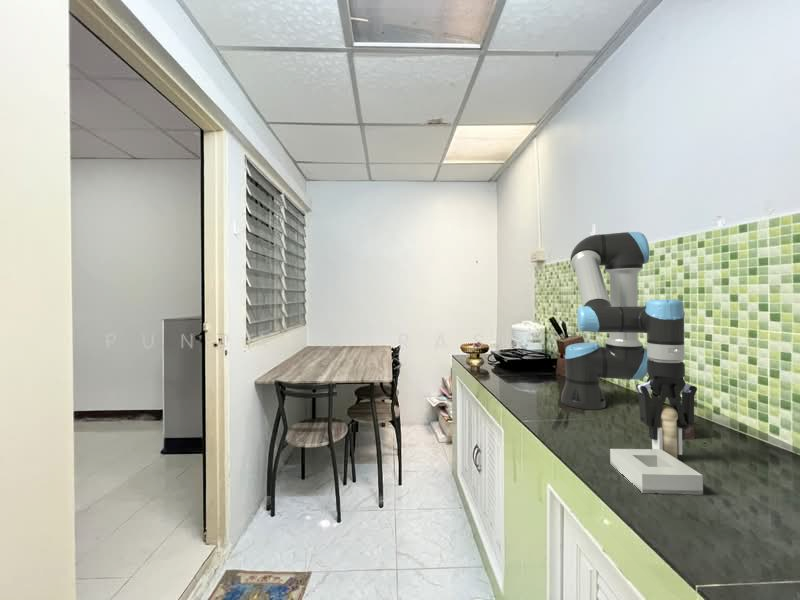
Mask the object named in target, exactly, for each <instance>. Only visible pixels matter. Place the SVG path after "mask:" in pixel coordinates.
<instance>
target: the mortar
mask: <svg viewBox="0 0 800 600" xmlns="http://www.w3.org/2000/svg"><path fill="white" fill-rule="evenodd" d="M609 452H610V453H609V458H610V459H609V460H610V463H609V465H610V464H611V465H612V466H613V467H614V468H615V469H617V470H618V471H619V472H620V473H621V474H623V475H624V476H625V477H626V478H627V479H628V480H629V481H630V482H631V483H633V485H632V486H634V485H635V486H636V487H637V488H638V489H639V490H640V491H641V494H654V493H658V495H661V494H663V495H666V494H667V495H668V494H669V495H704V484H703V483H704V477H703V476H704V475H703V474H701V473H700V472H699V471H697V470H695V469H694V468H692V467H690V466H689V465H687V464H686V463H684V462H683V461H681V460H679V459H678V458H677V459H676V458H674V457H673V456H671V455H670V454H668V453H666V452H665V451H663V450H662V449H652V448H651V449H649V448H647V449H645V448H610V449H609ZM611 465H610V466H611ZM612 466H611V467H612ZM613 467H612V468H613ZM614 468H613V469H614ZM615 469H614V470H615ZM617 470H616V471H617ZM618 471H617V472H618ZM619 472H618V473H619ZM620 473H619V474H620ZM621 474H620V475H621ZM625 477H624V478H625ZM626 478H625V479H626ZM627 479H626V480H627ZM628 480H627V481H628ZM629 481H628V482H629ZM630 482H629V483H630ZM631 483H630V484H631ZM635 486H634V487H635ZM636 487H635V488H636ZM637 488H636V489H637ZM638 489H637V490H638ZM639 490H638V491H639ZM640 491H639V492H640Z"/></svg>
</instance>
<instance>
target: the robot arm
mask: <svg viewBox="0 0 800 600" xmlns="http://www.w3.org/2000/svg"><path fill="white" fill-rule="evenodd" d="M650 253H651V252H650V246H649V241H648V239H647V237H646V235H644V234H643V233H642V232H640V231H626V232H616V233H615V232H613V233H605V234H604V233H602V234H600V233H599V234H591V235H589V236H587V237H585V238H583V239H582V240H581V241H579V242H578V243H577V244H576V246H574V248H573V249H572V252H571V255H570V258H569V259H570V266H571V268H572V270H573V271H575V274H576V281H577V284H578V285H577V286H578V290H579V296H580V300H581V304H582V306H580V307H578V309H577V315H576V318H577V327H578V330H579V331H581V332H586V333H609V338H608V339H607V340H606V341H605V342H604V343H605V346H600V343H598V342H579V343H572V344H569V345H567V346H566V347H565V353H564V354H565V355H564V359H565V384H564V386H563V389H562V391H561V395H560V402H561V403H562V404H563V405H566V406H568V407H571V408H575V409H576V408H577V409H581V410H582V409H583V410H603V409H605V408H606V403H607V402H606V399H605V396H604V393H603V390H602V387H601V381H600V379H617V380H627V381H632V380H634V381H635V380H637V381H638V380H639V381H640V380H642V379H644V378H645V377H646V376H647V375H648V377H647V379H646V382H645V383H641V384H638V383H637V384H635V387H636V390H637V392H638V405H639V421H640V422H641V423H643V424H645V425H647V426H648V437H649V438H650V439H651V446H652V448H651V449H662V450H663V440H662V428H660V427H659V423H660V418H661V413H662V407H663V405H664V404H665V402H666V399H668V403H669V406H671V407H673V408H674V409H675V410H676V411H677V413H678V419H677V455H678V456H680V455H682V456H683V441H685V439H686V438H685V429H688V428H689V426H688V425H690V426H692V425H693V424H694V425H695V397H696V396H695V395H696V393H697V390H698V387H697V386H695V385H693V384H692V385H691V384H689V383H686V381H685V379H684V377H686V364H685V363H684V362H683V361H684V360H686V359H685V358H686V357H685V354H686V353H685V316H686V315H685V314H686V313H685V309H684V302H683V301H682V300H680V299H649V300H647V301H646V305H643V306H642V305H641V306H638V303H639V300H638V297H639V295H638V293H639V291H638V287H639V286H638V285H639V284H638V283H639V281H638V280H639V279H638V274H639V273H640V272H641V271H642V270H643V268H644V265H645V264H647V263H649V260H650ZM601 266H604V271H605V273H607V274H608V275H609V293H608V290H607V287H606V283H605V281H604V277H603V274H602V273H603V272H602V270H601ZM639 334H646V348H645V347H644V344H643V342H641V341H640V340H639V337H638V336H639ZM650 392H651V395H650Z"/></svg>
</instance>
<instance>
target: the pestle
mask: <svg viewBox="0 0 800 600" xmlns="http://www.w3.org/2000/svg"><path fill="white" fill-rule="evenodd" d="M677 419H678V413H677V411H676V410H675V409H674V408H673V407H671V406H670V404H669V405H668V404H663V407H662V413H661V418H660V423H659V427H660V428H662V440H663V451H665V452H666V453H668V454H670V455H671V456H673V457H674V458H676V459H678V454H677Z"/></svg>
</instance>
